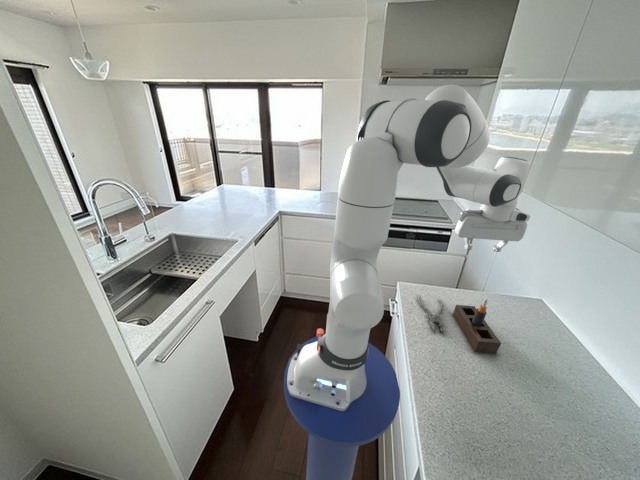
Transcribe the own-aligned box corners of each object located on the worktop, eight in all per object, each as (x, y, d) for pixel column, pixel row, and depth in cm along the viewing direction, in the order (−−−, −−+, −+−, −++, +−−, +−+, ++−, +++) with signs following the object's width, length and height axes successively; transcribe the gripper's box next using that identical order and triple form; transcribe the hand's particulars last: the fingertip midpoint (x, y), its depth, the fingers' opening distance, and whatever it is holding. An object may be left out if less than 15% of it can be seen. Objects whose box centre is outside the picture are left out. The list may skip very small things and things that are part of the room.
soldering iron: (470, 335, 90) (484, 302, 83) (466, 329, 92) (479, 296, 86) (478, 336, 89) (493, 302, 83) (474, 330, 92) (488, 297, 86)
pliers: (439, 296, 107) (461, 332, 89) (438, 298, 108) (461, 334, 90) (416, 295, 107) (434, 330, 89) (415, 296, 108) (433, 332, 90)
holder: (474, 352, 83) (479, 341, 81) (452, 314, 99) (456, 304, 97) (495, 354, 83) (501, 343, 81) (470, 316, 99) (474, 306, 97)
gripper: (466, 212, 77) (454, 252, 83) (536, 216, 76) (518, 256, 82) (458, 205, 83) (446, 243, 89) (522, 210, 82) (506, 248, 88)
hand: (481, 250), depth 86 cm, fingers open, 8 cm apart
